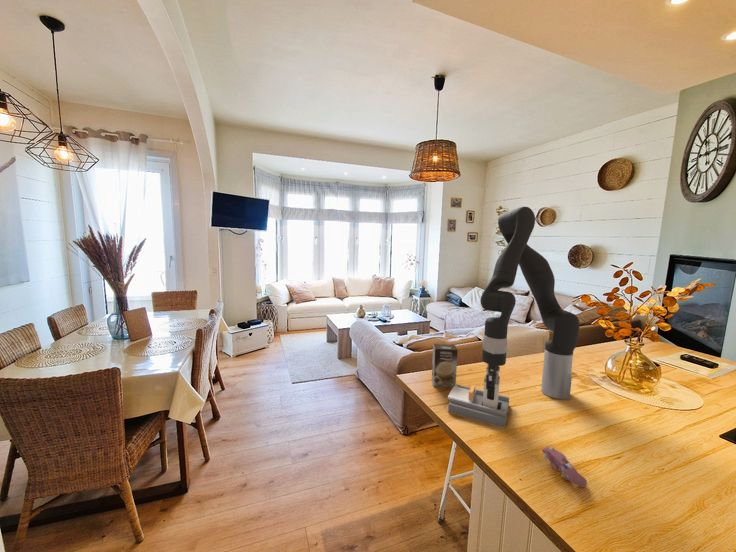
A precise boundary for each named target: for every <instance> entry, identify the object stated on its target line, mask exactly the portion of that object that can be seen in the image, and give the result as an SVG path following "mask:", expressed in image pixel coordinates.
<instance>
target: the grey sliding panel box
mask: <svg viewBox="0 0 736 552" xmlns="http://www.w3.org/2000/svg"><path fill="white" fill-rule="evenodd" d="M456 387H460V388H464V389H468V390H470V388H471V386H465V385H462V384H456ZM475 391H476V394H475V396H474V399H473V401H472V403H470V402H466V401H463V400H459V399H455V398H451V397H450V399H449V402H448V410H447V412H448V413H450V414H454V415H456V416H460V417H464V418H467V419H471V420H474V421H478V422H480V423H484V424H489V425H491V426H496V427H498V428H502V429H506V423H507V418H508V411H509V407H510V396H507V395H502V394H499V398H498V406H497V409H493V408H490V407H486V406H483V391H484V390H482V389H478V388H475Z"/></svg>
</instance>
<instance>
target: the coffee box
mask: <svg viewBox="0 0 736 552" xmlns="http://www.w3.org/2000/svg"><path fill="white" fill-rule="evenodd" d="M432 346H433V347H432V359H431V360H432V361H431V362H432V365H431V383H432V386H433V387H439V388H440V387H441V388H453V387H454V386H456V387H457V384H456V383H457V382H456V381H457V368H458V367H457V366H458V354H459V353H458V348H457V346H456V345H455V344H446V343H445V344H444V343H433V345H432Z"/></svg>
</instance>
